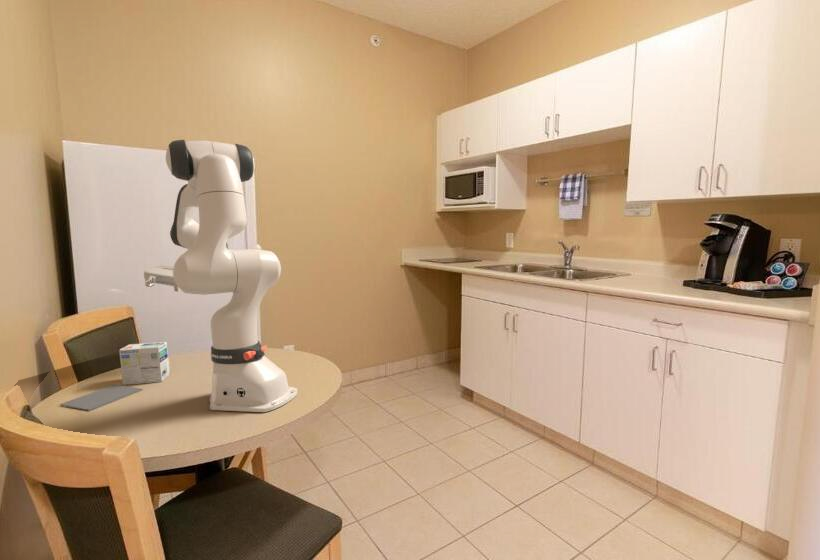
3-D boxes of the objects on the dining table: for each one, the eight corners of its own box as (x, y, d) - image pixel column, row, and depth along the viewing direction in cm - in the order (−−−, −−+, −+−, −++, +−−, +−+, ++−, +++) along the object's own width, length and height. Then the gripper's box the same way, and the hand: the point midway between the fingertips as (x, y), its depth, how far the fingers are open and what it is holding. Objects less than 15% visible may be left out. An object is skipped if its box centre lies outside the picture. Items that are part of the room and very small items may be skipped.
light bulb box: (170, 374, 126) (167, 340, 125) (162, 382, 119) (159, 346, 118) (132, 377, 124) (128, 343, 122) (121, 385, 117) (118, 349, 116)
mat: (142, 390, 113) (142, 388, 113) (89, 411, 100) (89, 409, 100) (114, 385, 117) (114, 384, 117) (59, 405, 104) (59, 404, 104)
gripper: (160, 258, 138) (129, 272, 125) (217, 267, 136) (191, 282, 123) (162, 275, 140) (131, 290, 127) (218, 285, 138) (193, 301, 126)
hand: (161, 286), depth 125 cm, fingers open, 8 cm apart
